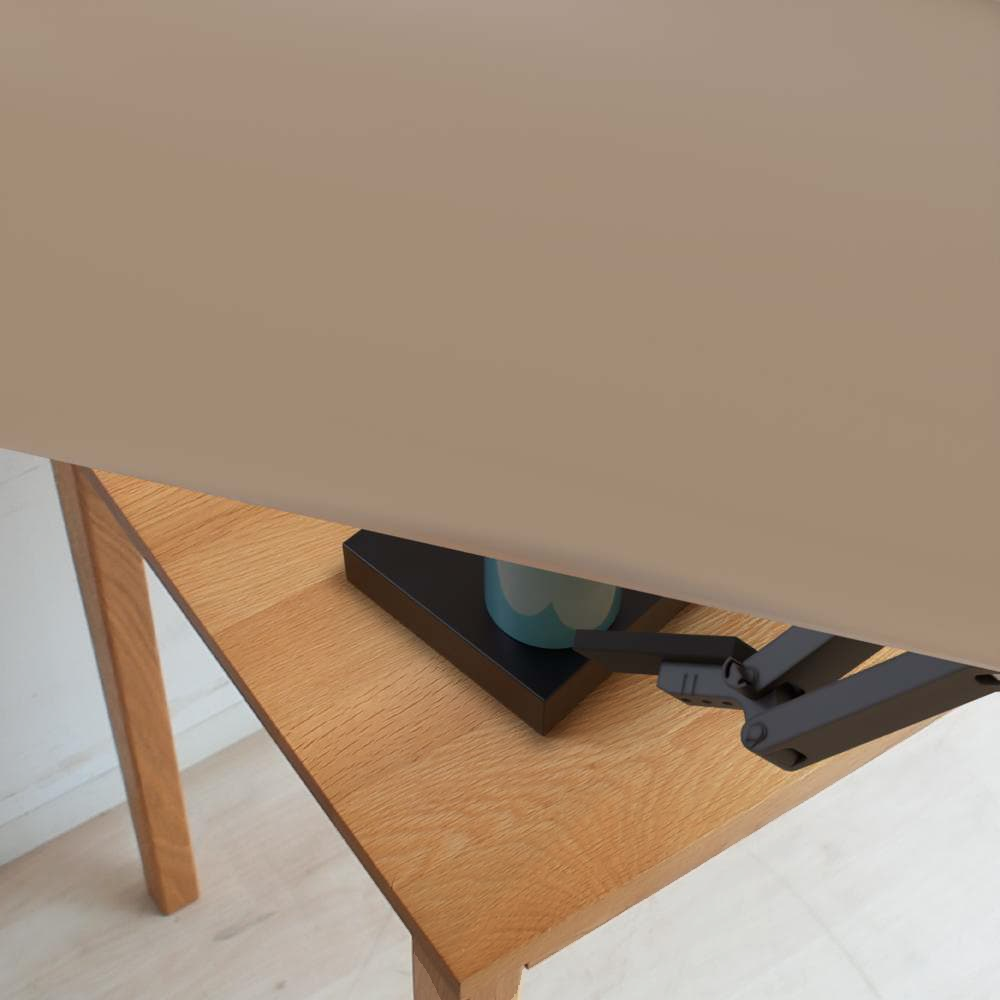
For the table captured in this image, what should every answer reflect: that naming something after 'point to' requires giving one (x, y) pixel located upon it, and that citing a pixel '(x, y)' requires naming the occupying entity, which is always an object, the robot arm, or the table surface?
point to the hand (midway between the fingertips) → (633, 478)
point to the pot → (546, 603)
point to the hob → (484, 624)
